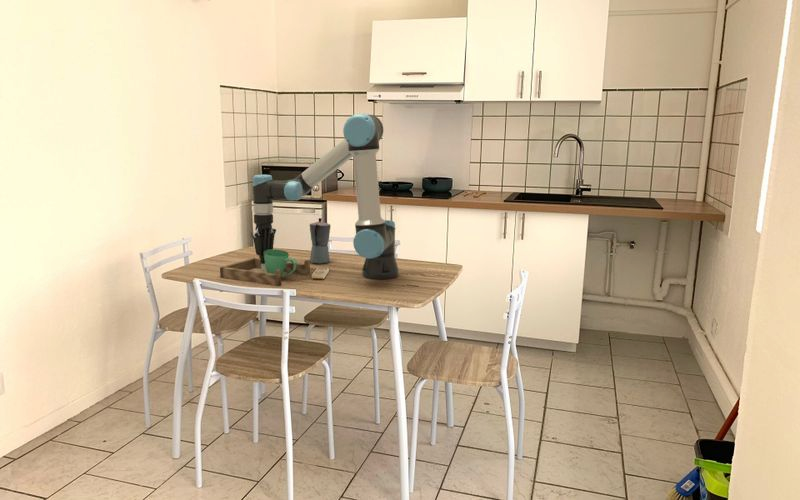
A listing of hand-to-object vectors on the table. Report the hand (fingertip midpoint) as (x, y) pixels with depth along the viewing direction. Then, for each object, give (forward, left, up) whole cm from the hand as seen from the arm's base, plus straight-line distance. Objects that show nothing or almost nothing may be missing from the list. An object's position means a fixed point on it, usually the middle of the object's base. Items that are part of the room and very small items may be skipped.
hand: (265, 271), depth 242 cm
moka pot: (-6, -31, -2) cm, 32 cm away
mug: (-7, 0, -2) cm, 8 cm away
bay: (0, -2, -2) cm, 3 cm away
